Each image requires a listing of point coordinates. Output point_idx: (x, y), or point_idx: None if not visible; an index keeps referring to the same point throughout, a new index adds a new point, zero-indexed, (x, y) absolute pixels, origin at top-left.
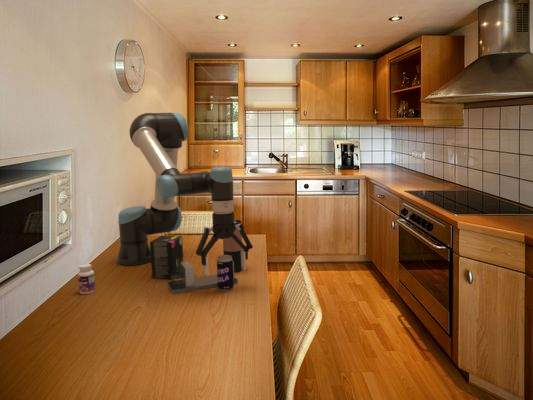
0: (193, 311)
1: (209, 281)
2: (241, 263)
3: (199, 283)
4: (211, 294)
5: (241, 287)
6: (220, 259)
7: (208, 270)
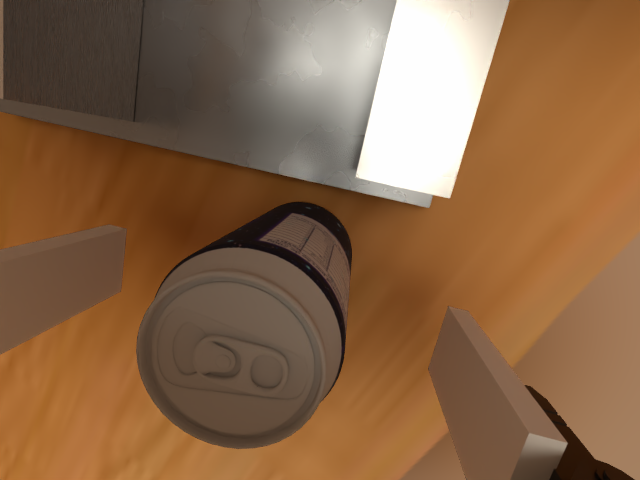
0: (46, 393)
1: (254, 101)
2: (458, 333)
3: (180, 94)
4: None
5: (396, 283)
6: (155, 384)
7: (87, 306)
